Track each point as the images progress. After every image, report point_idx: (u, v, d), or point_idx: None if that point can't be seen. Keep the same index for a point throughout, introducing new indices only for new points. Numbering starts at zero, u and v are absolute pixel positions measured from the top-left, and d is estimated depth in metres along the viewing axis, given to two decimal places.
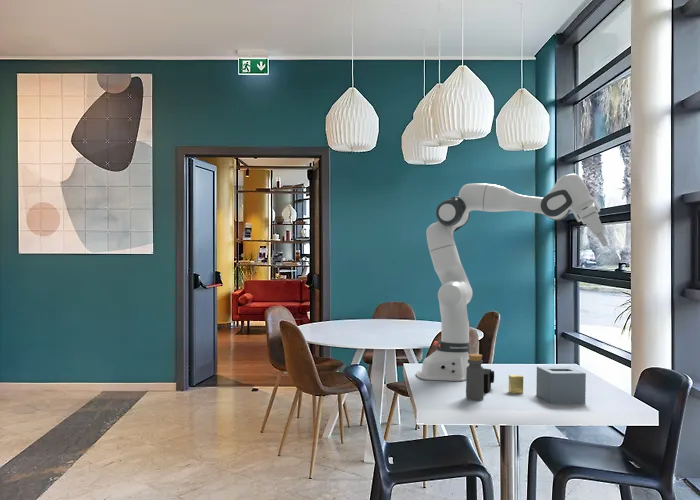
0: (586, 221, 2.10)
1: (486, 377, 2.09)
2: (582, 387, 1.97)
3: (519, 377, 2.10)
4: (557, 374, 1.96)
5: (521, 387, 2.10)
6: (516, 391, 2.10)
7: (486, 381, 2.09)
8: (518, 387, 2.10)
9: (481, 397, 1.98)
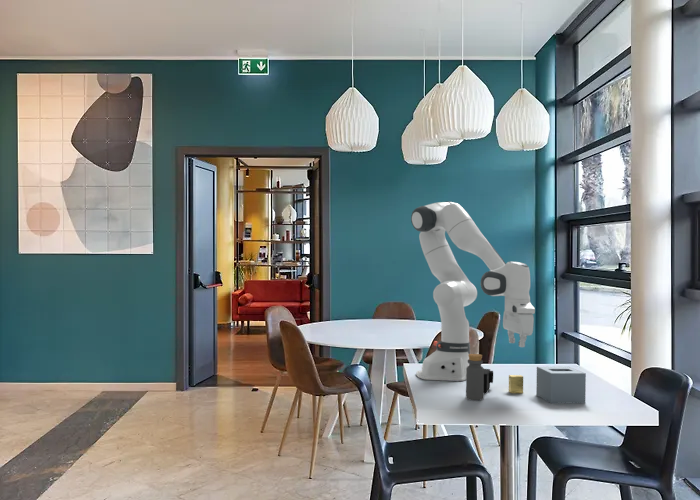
0: (522, 319, 2.02)
1: (485, 377, 2.09)
2: (582, 387, 1.97)
3: (519, 377, 2.10)
4: (557, 374, 1.96)
5: (521, 387, 2.10)
6: (516, 391, 2.10)
7: (485, 381, 2.09)
8: (518, 387, 2.10)
9: (481, 397, 1.98)
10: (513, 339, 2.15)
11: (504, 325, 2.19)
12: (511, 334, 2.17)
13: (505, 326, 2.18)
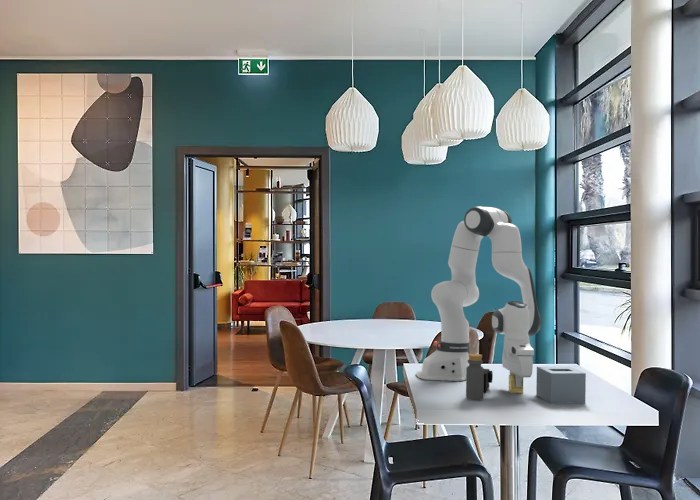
0: (521, 361, 2.02)
1: (484, 377, 2.09)
2: (582, 387, 1.97)
3: None
4: (557, 374, 1.96)
5: (521, 387, 2.10)
6: (516, 391, 2.10)
7: (484, 381, 2.09)
8: (518, 387, 2.10)
9: (481, 397, 1.98)
10: None
11: (503, 364, 2.19)
12: None
13: (505, 365, 2.17)
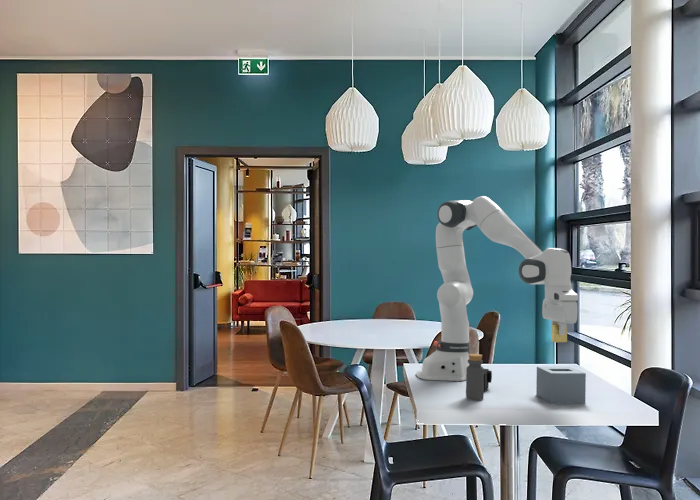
0: (565, 306, 1.93)
1: None
2: (582, 387, 1.97)
3: None
4: (557, 374, 1.96)
5: (565, 336, 2.01)
6: (560, 340, 2.01)
7: None
8: (562, 336, 2.01)
9: (481, 397, 1.98)
10: None
11: (544, 314, 2.10)
12: None
13: (545, 315, 2.09)
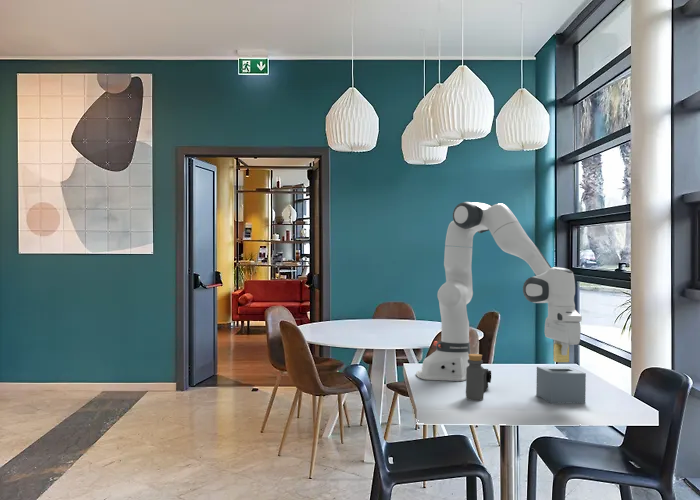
0: (568, 327, 1.93)
1: None
2: (582, 387, 1.97)
3: None
4: (557, 374, 1.96)
5: (567, 356, 2.01)
6: (562, 360, 2.01)
7: None
8: (564, 356, 2.01)
9: (481, 397, 1.98)
10: None
11: (546, 333, 2.10)
12: None
13: (548, 334, 2.09)
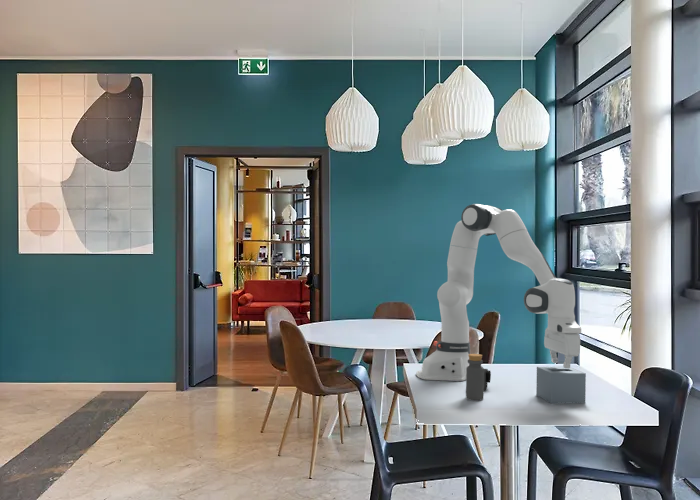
0: (568, 339, 1.93)
1: None
2: (582, 387, 1.97)
3: None
4: (557, 374, 1.96)
5: None
6: None
7: None
8: None
9: (481, 397, 1.98)
10: (556, 359, 2.06)
11: (546, 344, 2.10)
12: (553, 353, 2.08)
13: (547, 345, 2.09)
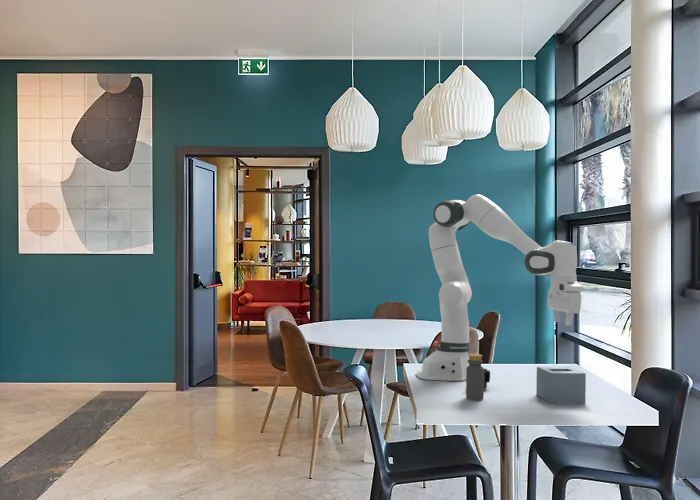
0: (569, 297, 2.02)
1: None
2: (582, 387, 1.97)
3: None
4: (557, 374, 1.96)
5: None
6: None
7: None
8: None
9: (481, 397, 1.98)
10: (558, 318, 2.15)
11: (549, 304, 2.19)
12: (556, 313, 2.17)
13: (550, 305, 2.18)
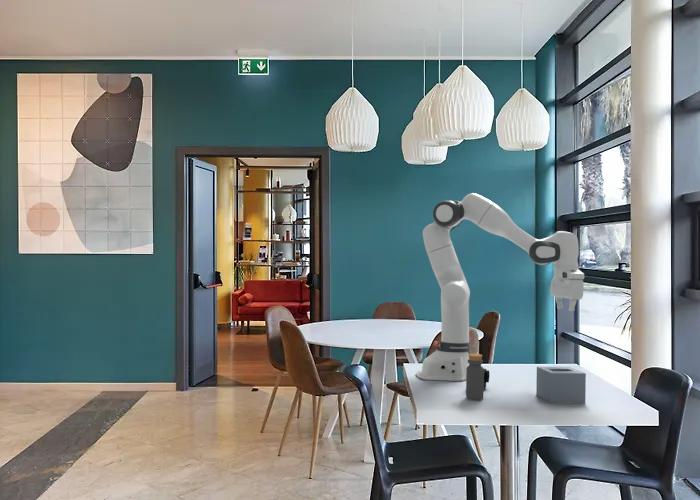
0: (572, 284, 2.14)
1: None
2: (582, 387, 1.97)
3: None
4: (557, 374, 1.96)
5: None
6: None
7: None
8: None
9: (481, 397, 1.98)
10: (561, 305, 2.27)
11: (552, 292, 2.31)
12: (559, 300, 2.29)
13: (553, 293, 2.30)
